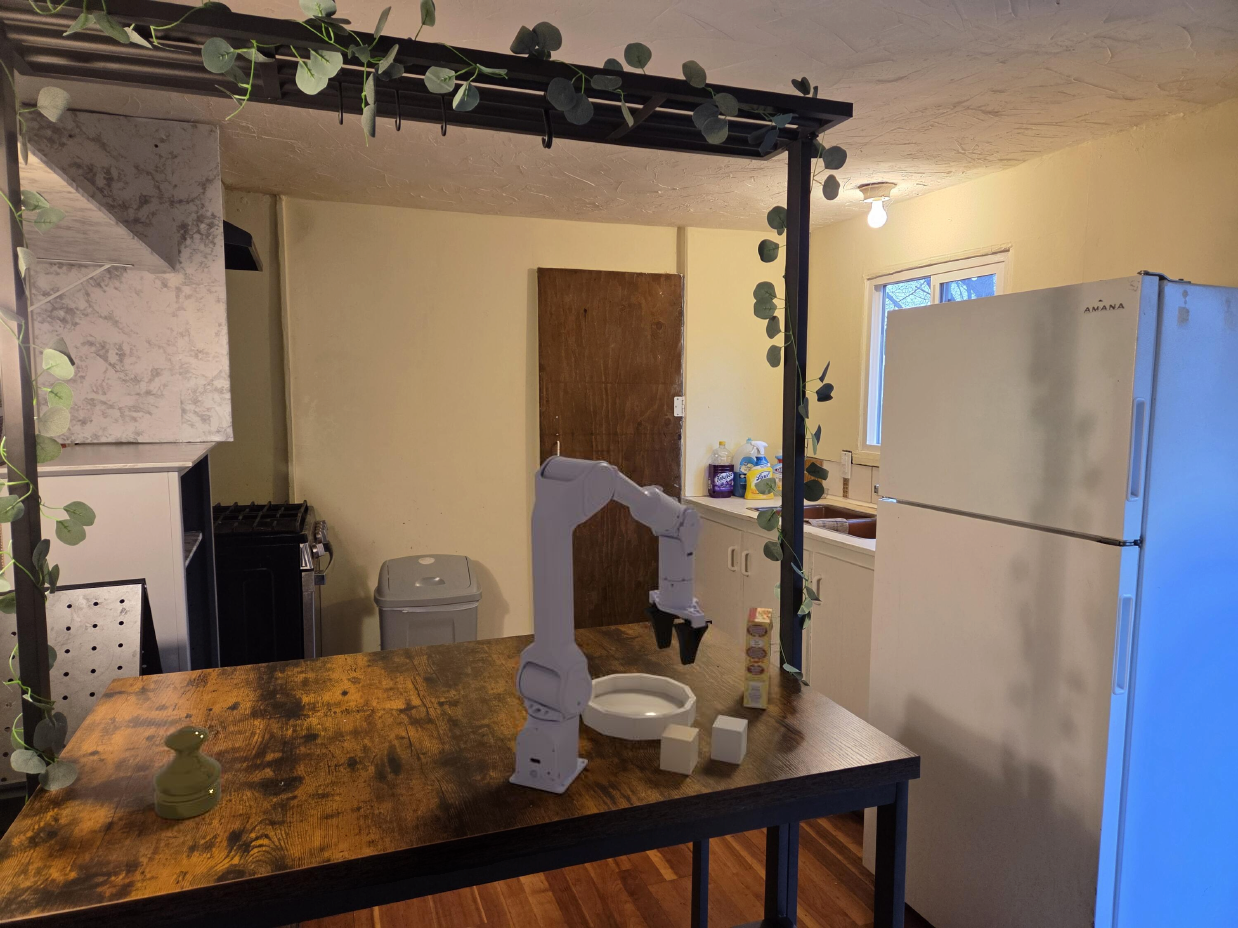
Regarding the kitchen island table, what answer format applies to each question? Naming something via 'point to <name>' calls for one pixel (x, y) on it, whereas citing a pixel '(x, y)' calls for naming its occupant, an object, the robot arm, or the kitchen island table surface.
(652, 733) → the bowl
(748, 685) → the candy box
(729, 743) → the matte stone cube
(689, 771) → the cream rectangular block
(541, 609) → the robot arm
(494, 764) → the kitchen island table surface
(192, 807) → the olive green knobbed piece
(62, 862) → the kitchen island table surface
